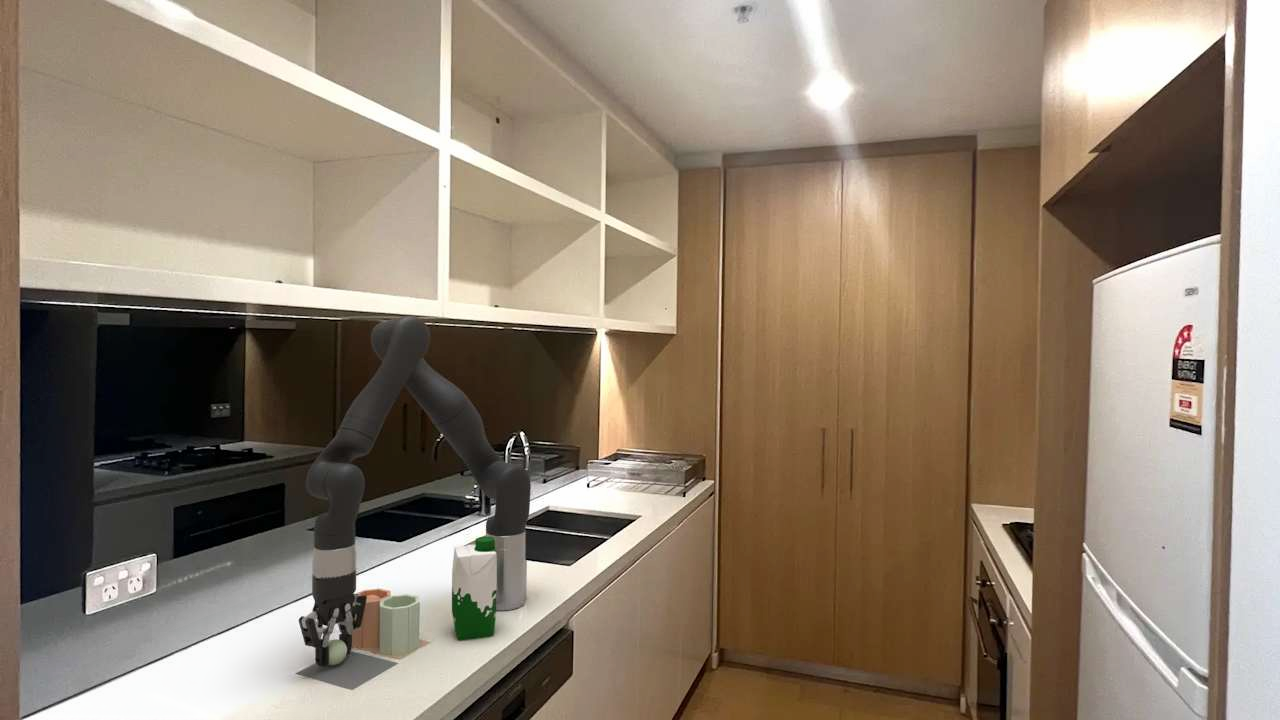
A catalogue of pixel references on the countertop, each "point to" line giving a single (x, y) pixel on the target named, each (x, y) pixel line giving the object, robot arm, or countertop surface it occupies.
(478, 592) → the milk carton
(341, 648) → the ball sage
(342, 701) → the countertop surface
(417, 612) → the tubes
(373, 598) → the ball rust
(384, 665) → the mat
